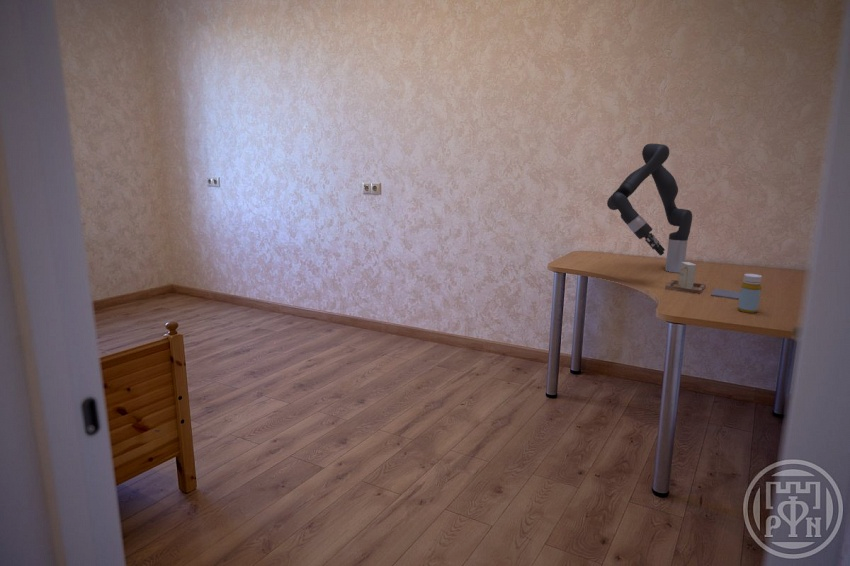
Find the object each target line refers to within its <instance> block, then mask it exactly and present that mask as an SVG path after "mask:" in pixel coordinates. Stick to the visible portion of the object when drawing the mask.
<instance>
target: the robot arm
mask: <svg viewBox="0 0 850 566" xmlns="http://www.w3.org/2000/svg"><path fill="white" fill-rule="evenodd" d="M641 152H642V153H641V155H642V158H643V161H644V163H645V164H644V165H641V166H640V167H639V168H638V169H637V168H636V169H635V170H634V171H632V172H631V173H630V174H628V176H627V177H626V178H624V180H623V182H622V183H621V184H620V185H619V187H618V188H617V189H616V190H615V191H614V192H613V193H612V195H610V196H609V198H608V199H607V201H606V204H607V207H608V209H610V210H611V211H616V210H618V212H619V213H620V218H621V220H622V221H623V222H624V223H625V224H626V226H628V228H629V229H630V231H631V232H632V233H633V234H634V235H635V236H636V237H637V238H638V240H641V239H643V238H644V241H645V242H646V243H647V244H648V245H649V246H650V248H652V250H653V251H656V253H657V254H658V255H659V256H663V255H664V254H665V252H664V251H665V248H664V246H662V245H661V243H660V240H658V238H656V236H655V235H654V234H653V233H652V231H653V227H652V226H651V225H650V224H649V223H648V222H647V221H646V220H645V219H644V218H643V217H642V216H641V215H640V214H639V213H638V212H637V210H635V209H634V208H633V205H632V204H631V202H630V200H629V197H630V196H632V194H634V192H635V191H636V190H637V189H638V188H639V186H640V185H641V184H643V182H644V181H645V180H646V179H647V178H648V177H649V176H650V175H651V177H652V179H653V181H654V182H653V183H654V184H655V187H656V190H657V192H658V194H659V196H660V199H661V202H662V204H663V208H664V212H665V216H666V219H667V222H668V224H669V225H670V226H673V227H678V229H677V231H674V232H670V233H669V234H668V242H667V249H666V250H667V251H666V261H665V268H664V270H665V271H666V272H668V271H669V272H668V273H676V274H680V268H681V262H686V259H687V258H686V257H687V249H688V248H687V247H688V241H689V236H690V233H691V227H692V223H693V212H692V210H691V209H685V208H678V207H677V204H676V202H675V201H676V198H677V195H678V193H679V187H678V184H677V180H676V179H675V177H674V175H672V173H671V172H670V171H669V170H668V169H666V167H664V163H665V162H666V161H667V159H668V158H669V156H670V149H669V146H668V145H666V144H660V143H647V144H645V145H644V146H643V148H642V151H641Z"/></svg>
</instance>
